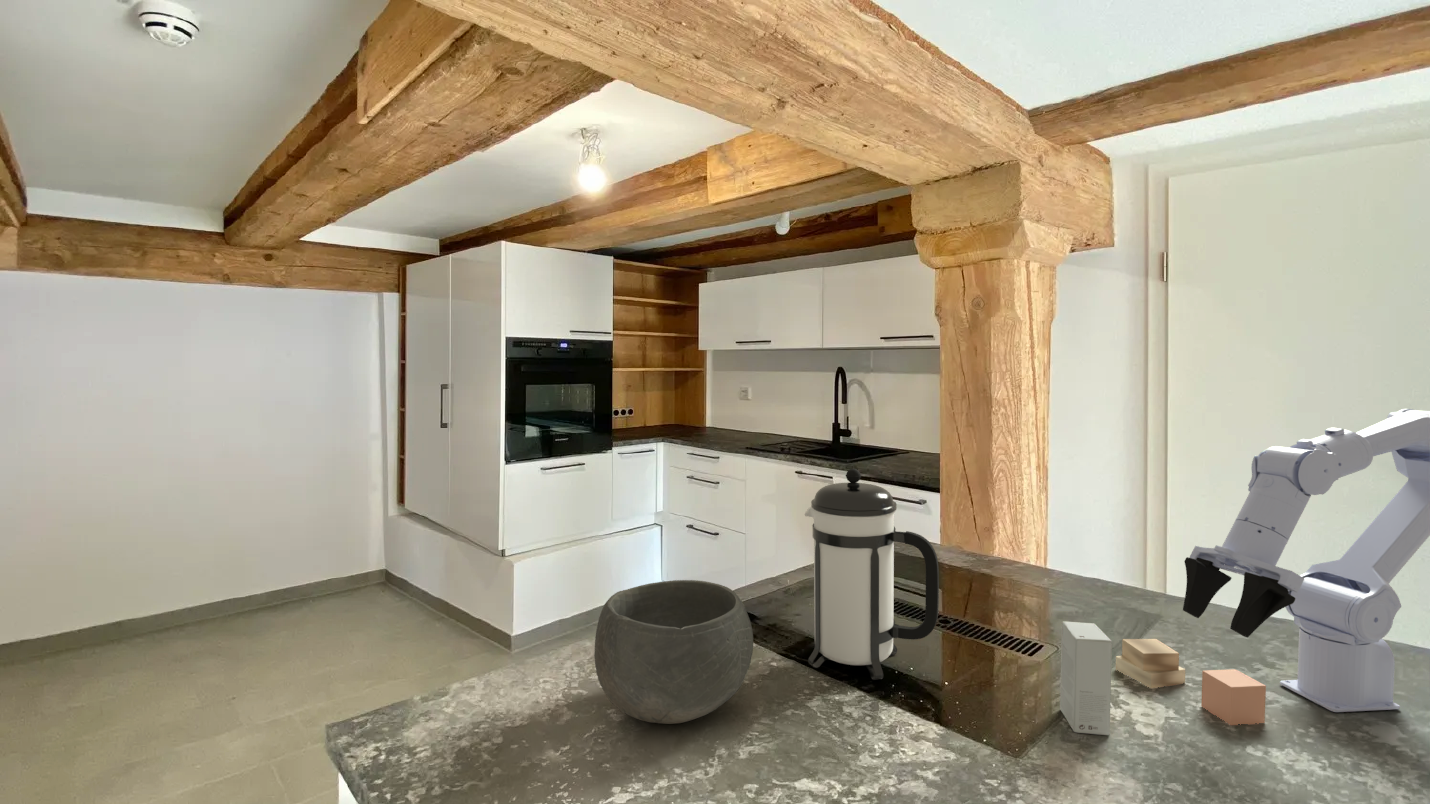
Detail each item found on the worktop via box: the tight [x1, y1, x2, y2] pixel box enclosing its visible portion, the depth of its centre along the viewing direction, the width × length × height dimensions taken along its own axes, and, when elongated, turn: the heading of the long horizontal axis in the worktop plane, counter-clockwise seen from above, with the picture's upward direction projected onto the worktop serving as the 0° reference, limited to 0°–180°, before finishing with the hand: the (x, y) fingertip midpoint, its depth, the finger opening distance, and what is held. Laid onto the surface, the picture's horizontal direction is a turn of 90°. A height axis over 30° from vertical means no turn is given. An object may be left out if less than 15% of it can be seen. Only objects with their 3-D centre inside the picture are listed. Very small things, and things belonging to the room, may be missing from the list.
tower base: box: [1115, 655, 1186, 690], centre depth 98 cm, size 6×6×2 cm
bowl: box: [593, 579, 754, 725], centre depth 90 cm, size 21×21×15 cm
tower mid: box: [1121, 638, 1180, 671], centre depth 97 cm, size 5×5×2 cm
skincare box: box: [1059, 620, 1113, 736], centre depth 85 cm, size 6×4×12 cm
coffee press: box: [804, 468, 940, 681], centre depth 103 cm, size 17×16×30 cm
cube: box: [1200, 668, 1267, 726], centre depth 87 cm, size 5×5×5 cm
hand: (1213, 623), depth 87 cm, fingers open, 7 cm apart
